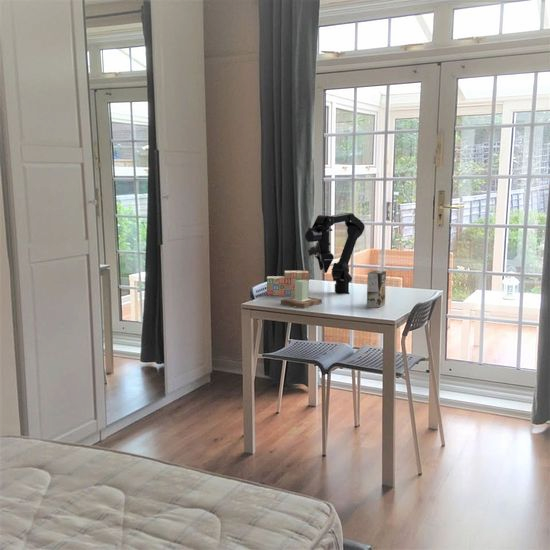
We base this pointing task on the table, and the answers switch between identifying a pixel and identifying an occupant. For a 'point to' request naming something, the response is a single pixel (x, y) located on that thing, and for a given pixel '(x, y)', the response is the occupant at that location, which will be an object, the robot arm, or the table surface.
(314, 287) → the table surface
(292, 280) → the stack of blocks
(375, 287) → the coffee box
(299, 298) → the pillar block
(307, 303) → the base board
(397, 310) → the table surface
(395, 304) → the table surface
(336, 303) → the table surface
